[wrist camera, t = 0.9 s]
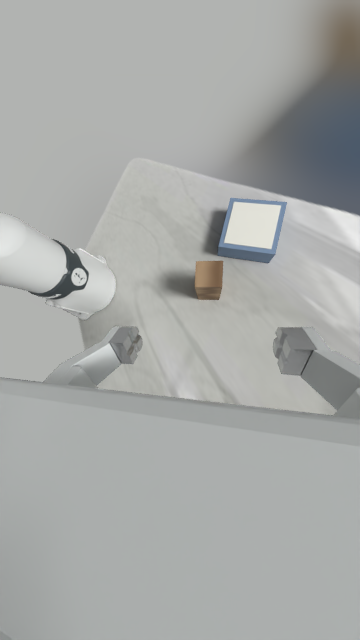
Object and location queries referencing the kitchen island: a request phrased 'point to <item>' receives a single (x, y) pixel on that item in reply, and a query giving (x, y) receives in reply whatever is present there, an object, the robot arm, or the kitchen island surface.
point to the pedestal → (251, 229)
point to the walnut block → (208, 279)
